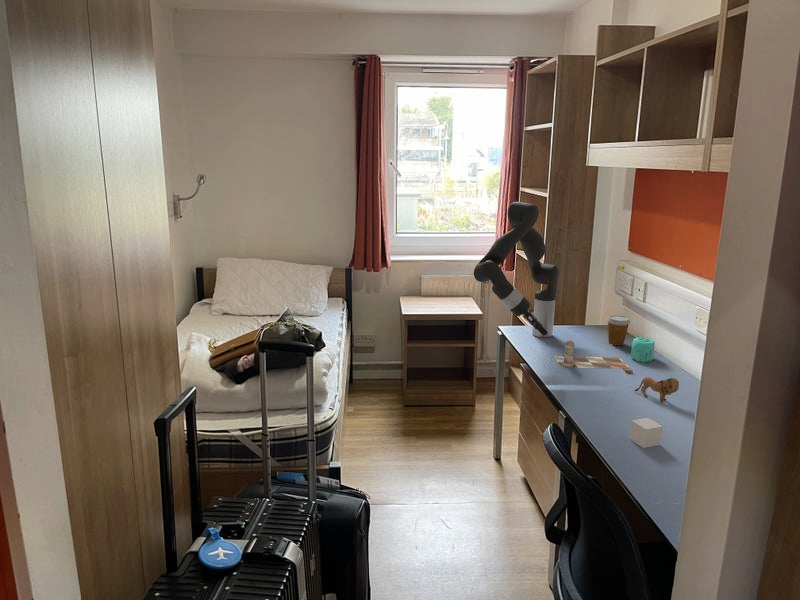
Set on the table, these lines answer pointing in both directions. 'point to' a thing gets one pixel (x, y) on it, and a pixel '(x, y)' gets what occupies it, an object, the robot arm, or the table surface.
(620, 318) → the disposable coffee cup
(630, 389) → the table surface
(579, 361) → the board
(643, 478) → the table surface
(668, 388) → the lion figurine
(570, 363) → the pawn
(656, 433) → the beige cube
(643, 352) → the decorative dice
